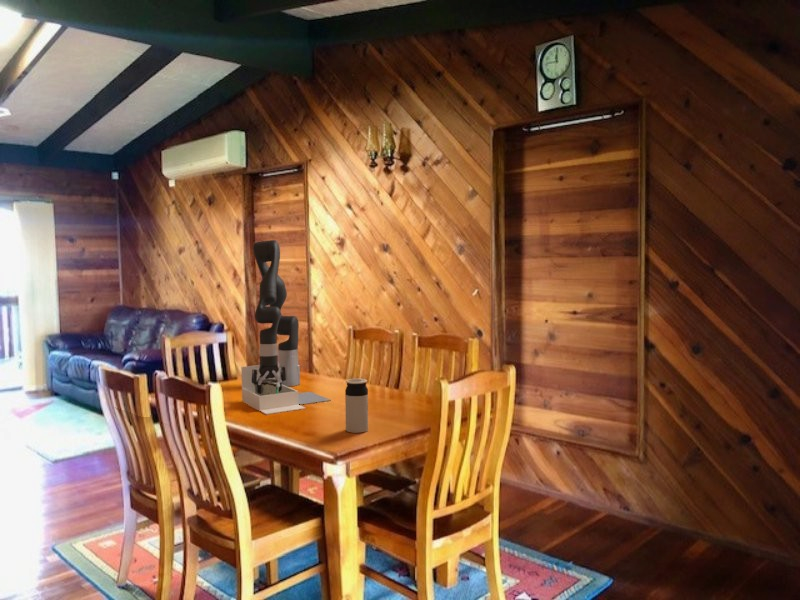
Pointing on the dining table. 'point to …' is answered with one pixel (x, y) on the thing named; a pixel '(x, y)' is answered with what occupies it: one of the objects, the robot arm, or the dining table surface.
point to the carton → (268, 403)
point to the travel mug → (356, 405)
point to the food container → (268, 387)
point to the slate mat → (310, 398)
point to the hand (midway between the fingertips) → (269, 392)
